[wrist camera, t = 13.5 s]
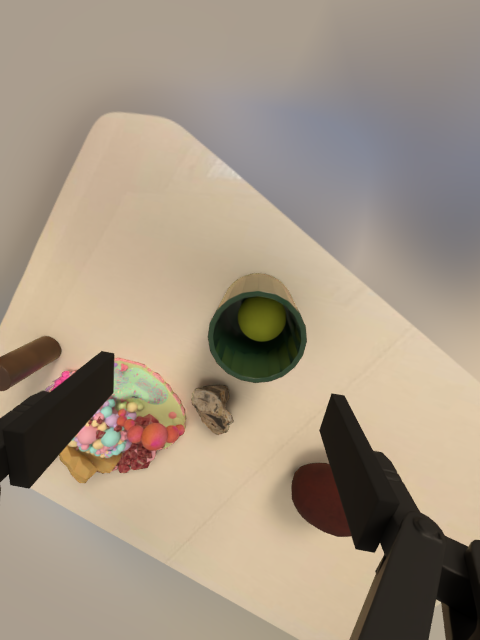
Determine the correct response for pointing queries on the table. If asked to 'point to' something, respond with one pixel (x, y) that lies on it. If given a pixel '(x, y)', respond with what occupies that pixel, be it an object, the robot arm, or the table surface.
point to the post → (27, 360)
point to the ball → (261, 318)
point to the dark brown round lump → (319, 499)
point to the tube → (250, 355)
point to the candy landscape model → (126, 424)
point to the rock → (213, 407)
